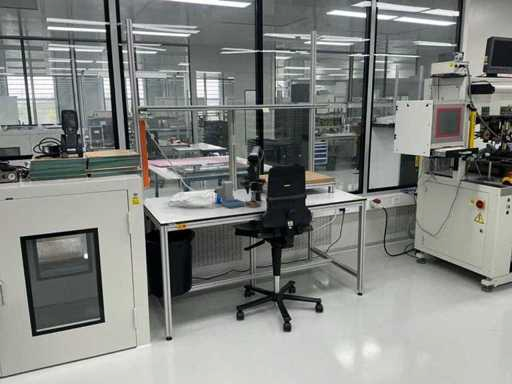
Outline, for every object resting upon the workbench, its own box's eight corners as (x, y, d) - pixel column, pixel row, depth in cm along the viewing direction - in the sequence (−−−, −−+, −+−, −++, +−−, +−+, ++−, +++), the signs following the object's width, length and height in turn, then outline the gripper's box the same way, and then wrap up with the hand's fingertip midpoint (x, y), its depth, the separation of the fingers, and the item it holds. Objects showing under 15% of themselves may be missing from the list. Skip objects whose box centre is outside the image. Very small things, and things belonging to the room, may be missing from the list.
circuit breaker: (213, 201, 315) (213, 181, 312) (232, 200, 319) (231, 180, 315) (214, 203, 308) (214, 183, 305) (234, 202, 311) (233, 182, 308)
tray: (236, 202, 310) (236, 198, 310) (244, 205, 302) (244, 201, 301) (221, 205, 303) (221, 201, 302) (229, 208, 294) (229, 204, 294)
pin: (253, 204, 304) (253, 190, 302) (257, 206, 301) (257, 191, 299) (249, 205, 302) (249, 191, 300) (252, 206, 299) (252, 192, 297)
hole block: (254, 204, 307) (254, 200, 307) (260, 206, 301) (260, 202, 300) (245, 205, 303) (245, 201, 302) (251, 207, 296) (251, 203, 296)
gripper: (257, 169, 308) (257, 190, 312) (235, 171, 298) (236, 193, 301) (266, 171, 300) (266, 192, 303) (244, 174, 289) (244, 196, 292)
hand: (253, 193), depth 300 cm, fingers open, 9 cm apart
